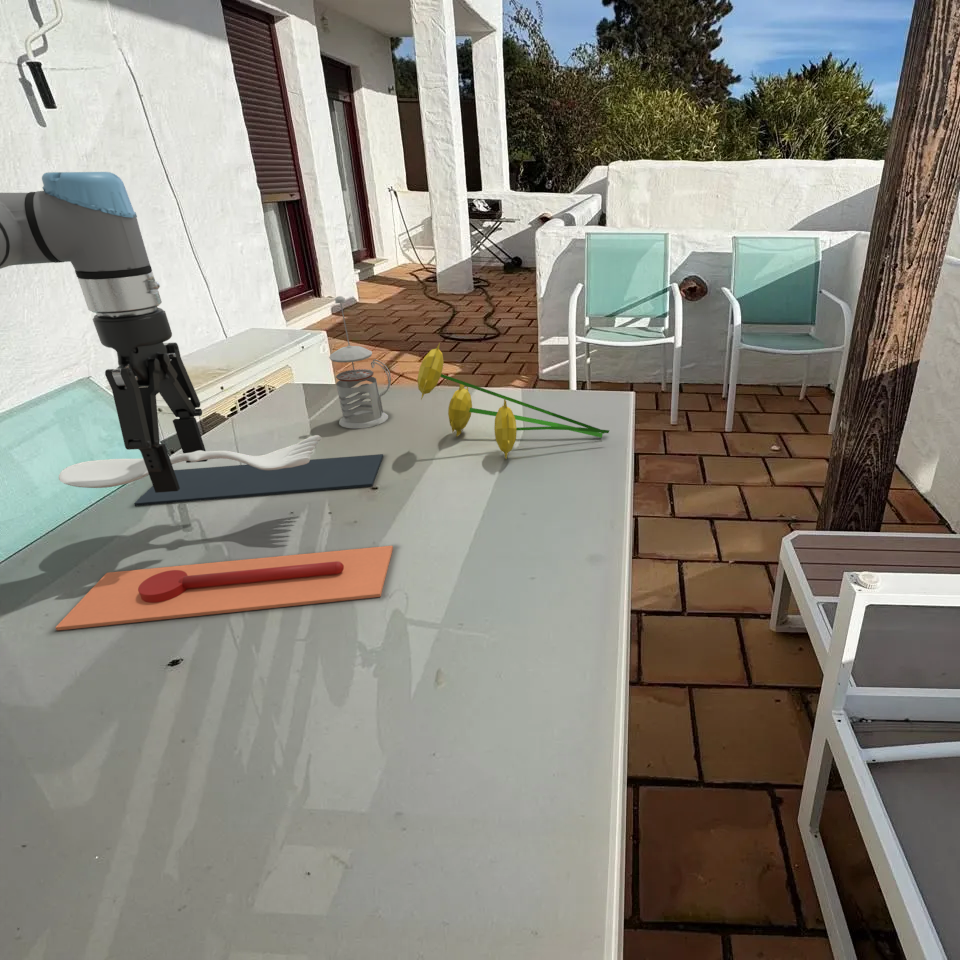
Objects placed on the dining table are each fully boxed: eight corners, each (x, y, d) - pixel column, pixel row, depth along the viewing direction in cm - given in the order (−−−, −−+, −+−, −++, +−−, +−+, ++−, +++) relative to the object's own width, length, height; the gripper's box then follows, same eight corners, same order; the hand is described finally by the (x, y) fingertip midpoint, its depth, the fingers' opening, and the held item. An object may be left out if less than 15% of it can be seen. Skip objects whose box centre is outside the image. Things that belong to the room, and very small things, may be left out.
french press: (345, 412, 135) (320, 292, 124) (400, 409, 136) (380, 290, 125) (333, 429, 126) (304, 302, 115) (392, 426, 127) (370, 299, 116)
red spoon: (132, 605, 76) (128, 594, 75) (153, 579, 80) (149, 569, 80) (340, 584, 79) (337, 573, 78) (348, 560, 83) (346, 550, 83)
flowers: (594, 410, 132) (429, 351, 123) (626, 400, 111) (429, 328, 102) (571, 484, 132) (403, 430, 122) (599, 488, 110) (397, 423, 101)
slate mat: (135, 506, 99) (133, 503, 99) (169, 473, 110) (168, 470, 110) (372, 486, 104) (371, 483, 104) (383, 456, 114) (383, 454, 114)
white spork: (313, 478, 87) (308, 456, 86) (50, 501, 82) (40, 477, 80) (325, 453, 95) (320, 431, 94) (86, 472, 90) (77, 449, 88)
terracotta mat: (56, 630, 73) (54, 627, 72) (108, 575, 82) (106, 572, 82) (380, 597, 77) (379, 593, 77) (393, 548, 87) (392, 545, 87)
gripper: (115, 329, 69) (178, 510, 79) (196, 293, 88) (239, 443, 98) (39, 332, 68) (112, 515, 78) (138, 295, 87) (187, 446, 97)
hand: (183, 475), depth 88 cm, fingers closed on white spork, 9 cm apart
